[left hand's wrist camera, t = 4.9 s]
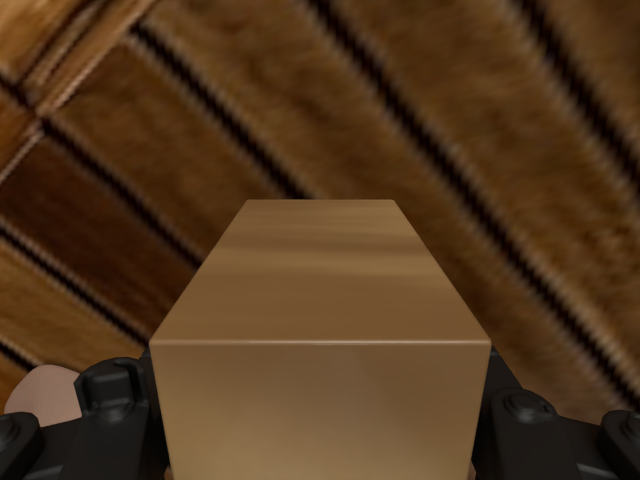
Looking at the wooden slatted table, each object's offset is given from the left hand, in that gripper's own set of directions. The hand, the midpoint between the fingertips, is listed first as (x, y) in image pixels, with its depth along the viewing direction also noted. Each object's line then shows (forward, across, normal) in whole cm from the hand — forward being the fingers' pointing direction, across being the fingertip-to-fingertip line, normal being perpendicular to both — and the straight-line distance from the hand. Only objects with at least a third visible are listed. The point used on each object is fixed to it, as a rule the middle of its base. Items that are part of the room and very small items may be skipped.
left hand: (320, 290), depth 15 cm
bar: (0, 0, -9) cm, 9 cm away
